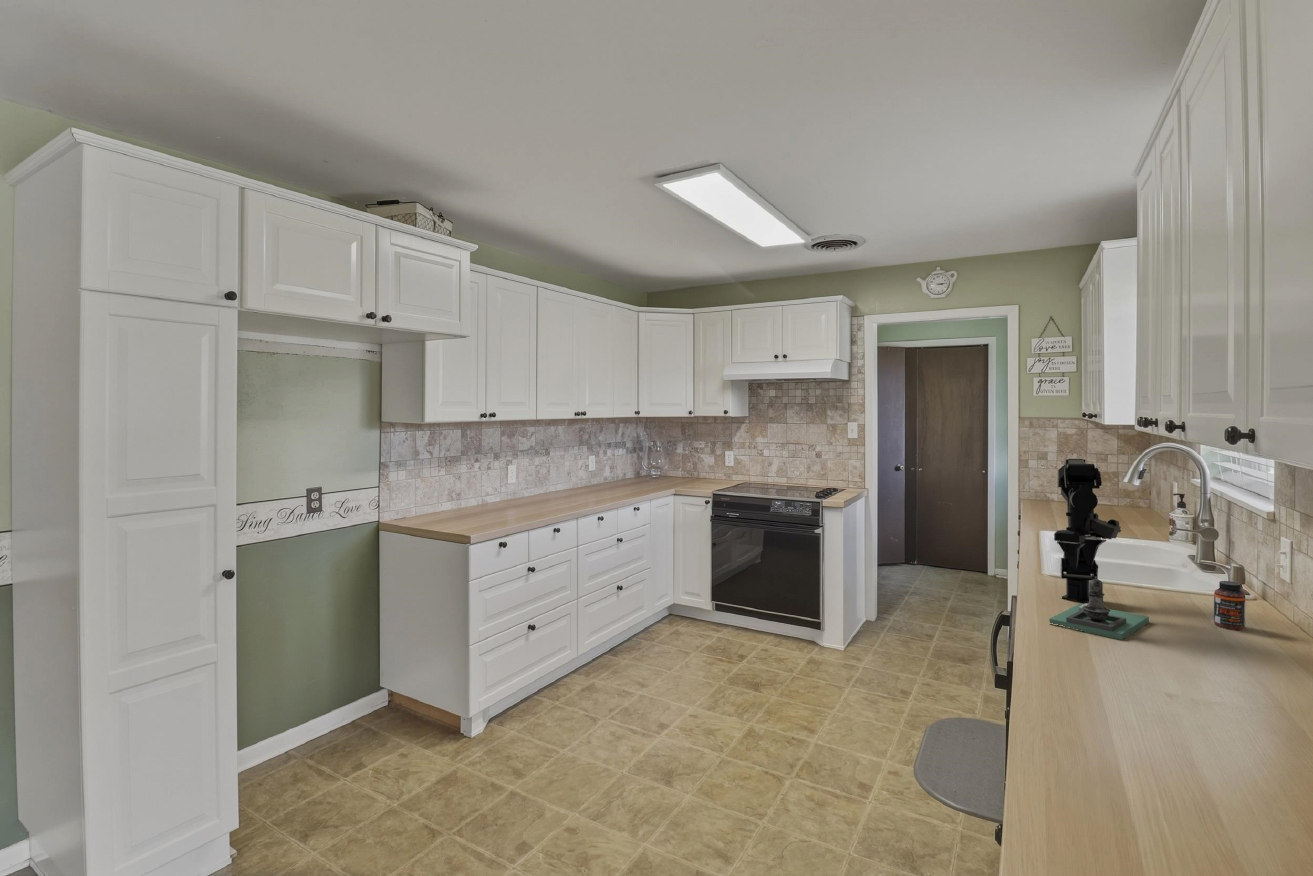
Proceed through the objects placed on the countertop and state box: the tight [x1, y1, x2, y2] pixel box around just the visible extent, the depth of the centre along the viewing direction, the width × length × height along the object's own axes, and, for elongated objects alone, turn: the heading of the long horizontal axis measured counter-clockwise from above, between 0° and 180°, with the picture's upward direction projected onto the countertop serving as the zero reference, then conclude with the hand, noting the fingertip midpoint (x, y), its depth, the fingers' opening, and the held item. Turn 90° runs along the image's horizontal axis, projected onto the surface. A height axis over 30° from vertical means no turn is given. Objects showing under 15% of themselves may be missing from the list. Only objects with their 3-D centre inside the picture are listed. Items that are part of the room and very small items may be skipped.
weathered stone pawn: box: [1082, 576, 1110, 625], centre depth 164 cm, size 6×6×12 cm
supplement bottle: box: [1213, 580, 1246, 631], centre depth 162 cm, size 6×6×11 cm
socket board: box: [1048, 602, 1150, 641], centre depth 168 cm, size 20×16×3 cm
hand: (1082, 566), depth 176 cm, fingers open, 9 cm apart
